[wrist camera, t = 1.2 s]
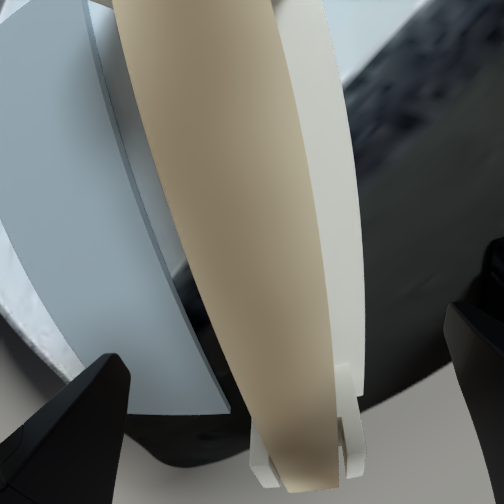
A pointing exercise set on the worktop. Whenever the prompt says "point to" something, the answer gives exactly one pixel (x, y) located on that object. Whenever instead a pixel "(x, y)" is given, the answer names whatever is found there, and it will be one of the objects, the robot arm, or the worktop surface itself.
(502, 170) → the worktop surface
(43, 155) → the mat
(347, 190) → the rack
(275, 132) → the rail
